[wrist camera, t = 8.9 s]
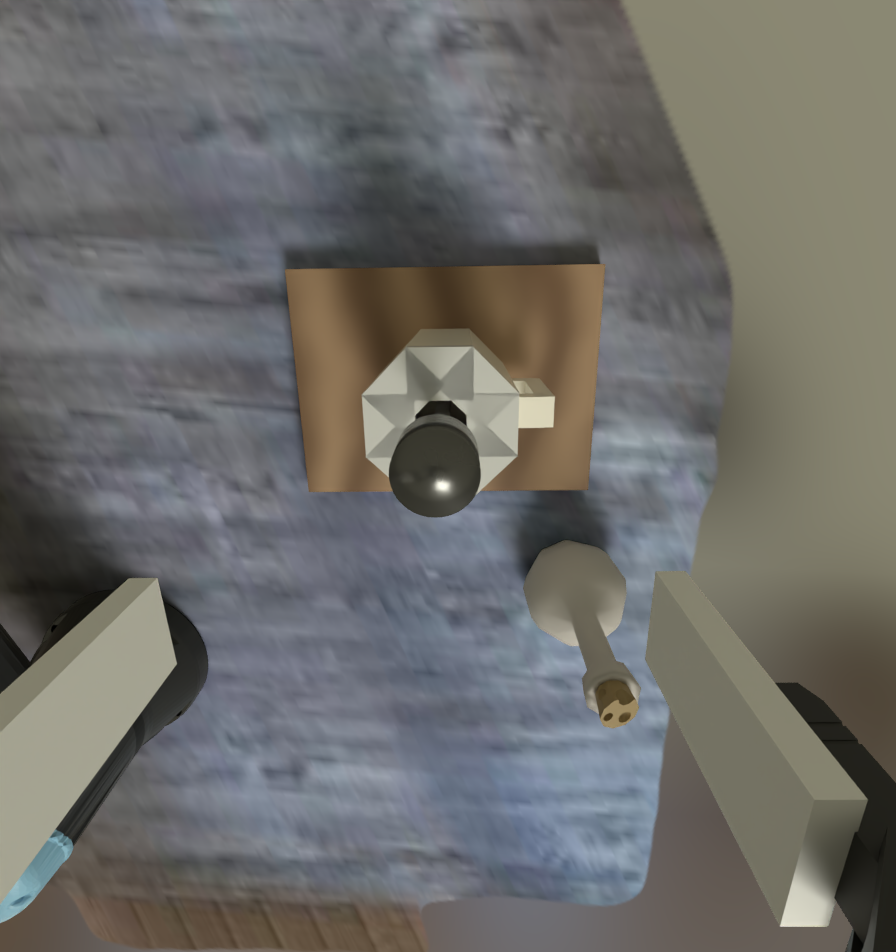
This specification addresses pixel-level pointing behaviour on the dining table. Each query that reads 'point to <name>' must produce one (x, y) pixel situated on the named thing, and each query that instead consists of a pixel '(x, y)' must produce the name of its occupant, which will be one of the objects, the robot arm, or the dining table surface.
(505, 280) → the board
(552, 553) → the potion bottle
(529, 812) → the dining table surface
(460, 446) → the plunger
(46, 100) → the dining table surface
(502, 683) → the dining table surface
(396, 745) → the dining table surface
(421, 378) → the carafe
